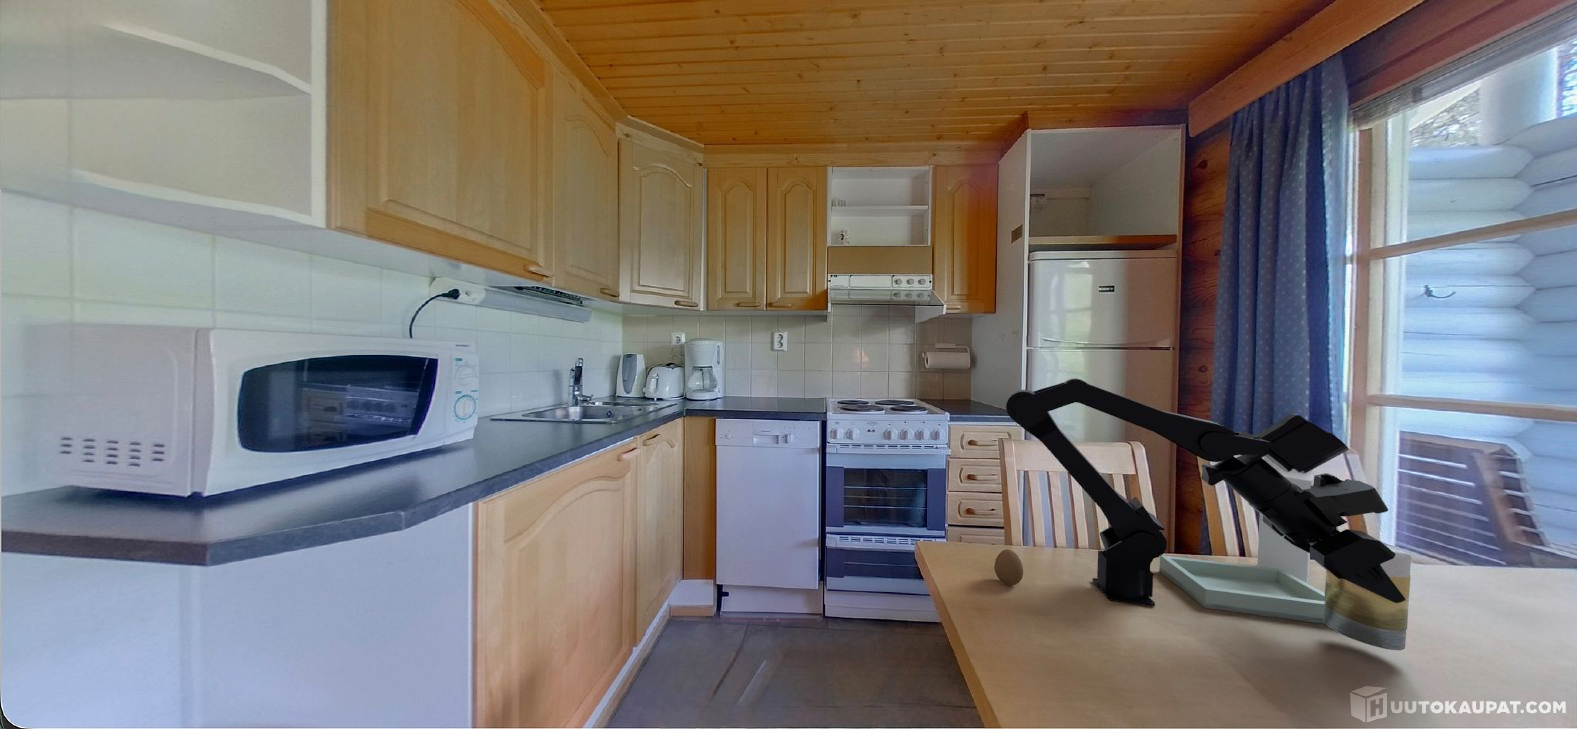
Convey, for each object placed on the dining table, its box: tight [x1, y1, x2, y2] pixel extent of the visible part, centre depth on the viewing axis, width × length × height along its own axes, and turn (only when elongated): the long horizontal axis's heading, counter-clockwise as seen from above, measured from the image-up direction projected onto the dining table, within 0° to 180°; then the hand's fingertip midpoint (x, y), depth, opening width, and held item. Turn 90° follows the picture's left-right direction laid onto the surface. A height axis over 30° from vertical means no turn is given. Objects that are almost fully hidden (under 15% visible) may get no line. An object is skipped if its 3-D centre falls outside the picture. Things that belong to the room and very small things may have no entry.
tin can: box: [1324, 544, 1412, 651], centre depth 58 cm, size 7×7×12 cm
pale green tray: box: [1159, 554, 1326, 625], centre depth 71 cm, size 18×12×3 cm, turn 76°
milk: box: [1256, 456, 1315, 584], centre depth 79 cm, size 6×6×22 cm
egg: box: [993, 548, 1024, 586], centre depth 74 cm, size 4×4×6 cm
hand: (1381, 588), depth 57 cm, fingers closed on tin can, 7 cm apart
